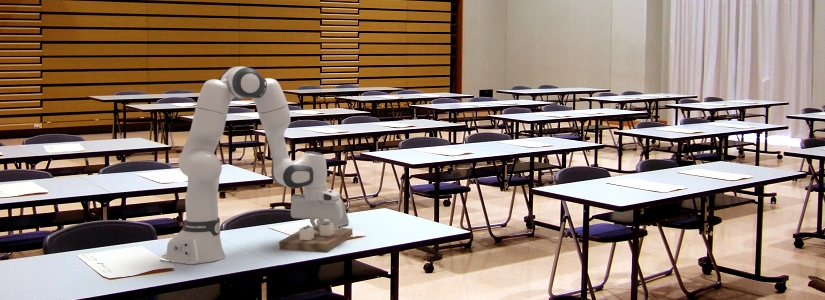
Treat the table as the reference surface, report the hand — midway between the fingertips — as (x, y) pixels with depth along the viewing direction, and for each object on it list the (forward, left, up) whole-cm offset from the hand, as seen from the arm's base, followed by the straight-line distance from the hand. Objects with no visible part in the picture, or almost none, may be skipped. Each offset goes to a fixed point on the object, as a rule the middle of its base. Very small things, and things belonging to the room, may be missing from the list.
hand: (317, 230), depth 319 cm
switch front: (-1, -8, -1) cm, 8 cm away
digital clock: (-4, +25, -5) cm, 26 cm away
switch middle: (+4, 0, -1) cm, 4 cm away
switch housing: (0, 0, -5) cm, 5 cm away
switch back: (-1, +8, -1) cm, 8 cm away
